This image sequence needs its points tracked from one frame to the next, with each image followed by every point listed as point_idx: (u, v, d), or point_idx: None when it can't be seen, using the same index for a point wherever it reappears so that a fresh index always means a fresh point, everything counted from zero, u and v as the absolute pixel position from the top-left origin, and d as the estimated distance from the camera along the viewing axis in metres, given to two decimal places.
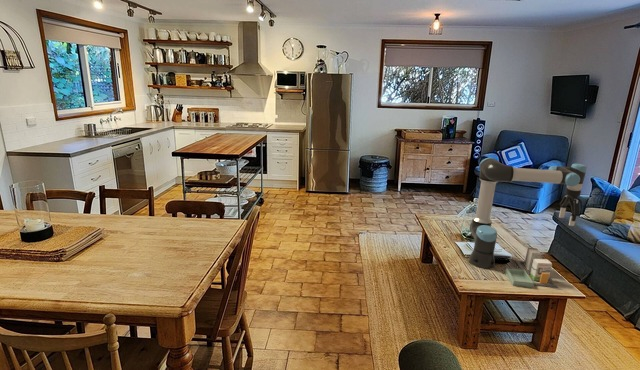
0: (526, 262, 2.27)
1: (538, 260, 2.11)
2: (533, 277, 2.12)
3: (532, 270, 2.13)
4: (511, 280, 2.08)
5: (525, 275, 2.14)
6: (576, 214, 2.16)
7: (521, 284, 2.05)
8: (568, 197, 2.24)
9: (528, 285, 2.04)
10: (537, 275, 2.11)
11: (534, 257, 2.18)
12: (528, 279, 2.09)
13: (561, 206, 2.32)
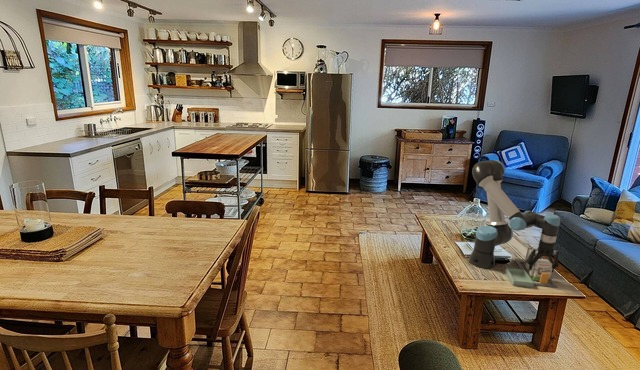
0: (526, 262, 2.27)
1: (538, 260, 2.11)
2: (533, 277, 2.12)
3: None
4: (511, 280, 2.08)
5: (525, 275, 2.14)
6: (527, 261, 2.12)
7: (521, 284, 2.05)
8: None
9: (528, 285, 2.04)
10: (537, 275, 2.11)
11: None
12: (528, 279, 2.09)
13: None
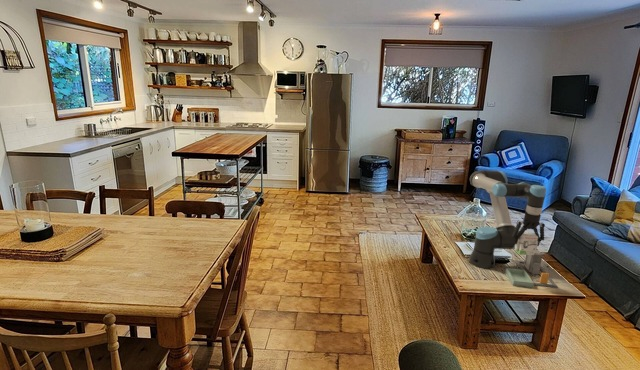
0: (526, 262, 2.27)
1: (524, 233, 2.04)
2: (519, 251, 2.05)
3: None
4: (511, 280, 2.08)
5: (525, 275, 2.14)
6: (512, 235, 2.06)
7: (521, 284, 2.05)
8: None
9: (528, 285, 2.04)
10: (523, 249, 2.04)
11: (534, 257, 2.18)
12: (528, 279, 2.09)
13: None
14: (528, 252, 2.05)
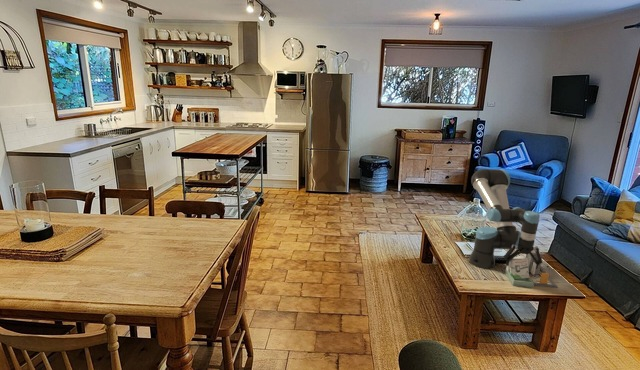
0: None
1: (514, 258, 2.10)
2: (513, 276, 2.10)
3: (511, 269, 2.11)
4: (511, 280, 2.08)
5: None
6: (504, 256, 2.10)
7: (521, 284, 2.05)
8: None
9: (528, 285, 2.04)
10: (516, 273, 2.09)
11: None
12: (528, 279, 2.09)
13: (535, 261, 2.08)
14: (522, 275, 2.09)
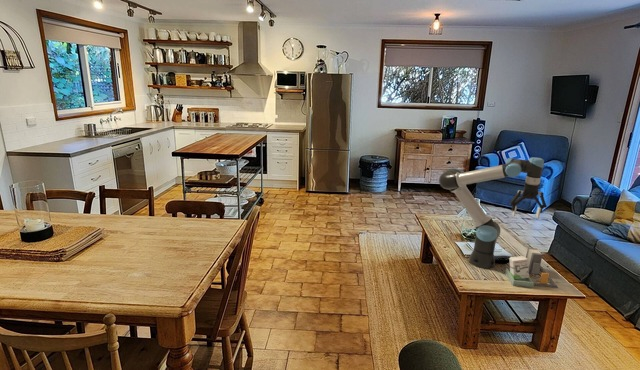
0: None
1: (514, 258, 2.10)
2: (513, 276, 2.10)
3: (511, 269, 2.11)
4: (511, 280, 2.08)
5: None
6: (510, 202, 2.22)
7: (521, 284, 2.05)
8: None
9: (528, 285, 2.04)
10: (516, 273, 2.09)
11: (534, 257, 2.18)
12: (528, 279, 2.09)
13: (539, 205, 2.21)
14: (522, 275, 2.09)
